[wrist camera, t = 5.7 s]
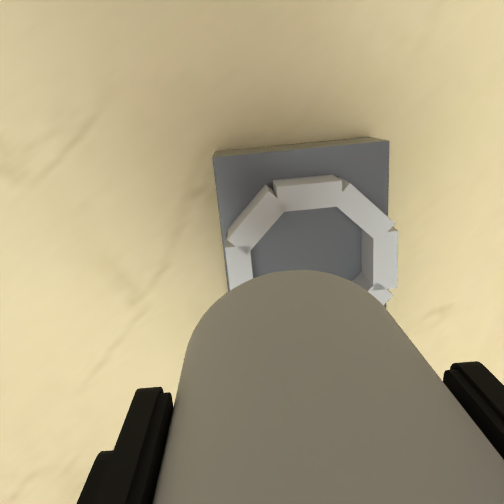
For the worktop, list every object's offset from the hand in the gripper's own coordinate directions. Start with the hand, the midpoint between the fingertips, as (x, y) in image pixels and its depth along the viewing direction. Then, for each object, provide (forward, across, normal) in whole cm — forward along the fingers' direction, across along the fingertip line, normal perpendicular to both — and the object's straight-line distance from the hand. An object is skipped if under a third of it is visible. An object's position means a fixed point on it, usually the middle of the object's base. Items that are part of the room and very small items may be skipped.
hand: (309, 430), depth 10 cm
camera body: (+22, -3, +4) cm, 23 cm away
